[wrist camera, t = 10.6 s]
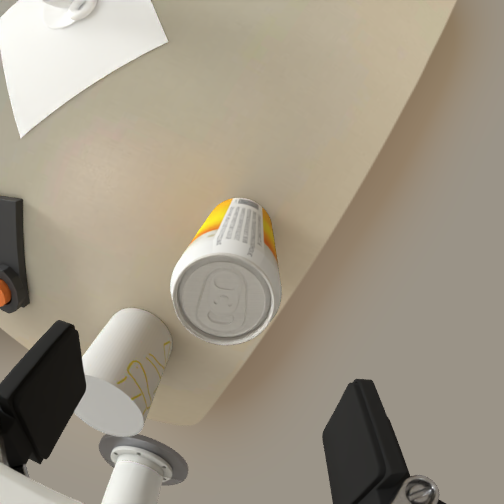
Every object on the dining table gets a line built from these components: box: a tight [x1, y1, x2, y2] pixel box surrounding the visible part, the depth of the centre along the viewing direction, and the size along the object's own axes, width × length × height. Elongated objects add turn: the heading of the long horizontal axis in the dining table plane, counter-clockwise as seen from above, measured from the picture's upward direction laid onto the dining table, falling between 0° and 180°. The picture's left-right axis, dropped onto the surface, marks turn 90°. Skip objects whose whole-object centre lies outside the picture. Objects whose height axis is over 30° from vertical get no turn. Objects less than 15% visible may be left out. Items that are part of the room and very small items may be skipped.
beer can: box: [170, 198, 282, 345], centre depth 23 cm, size 6×6×15 cm
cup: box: [74, 308, 173, 437], centre depth 29 cm, size 8×8×12 cm
